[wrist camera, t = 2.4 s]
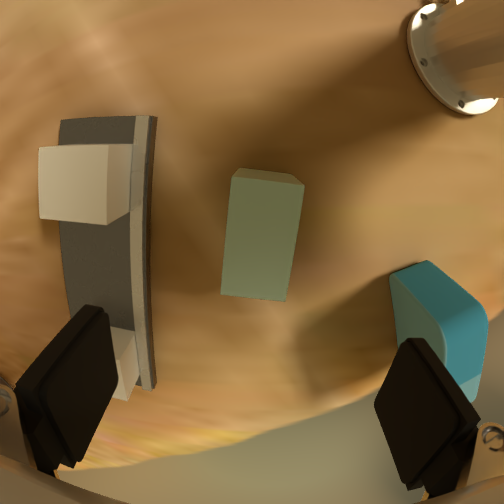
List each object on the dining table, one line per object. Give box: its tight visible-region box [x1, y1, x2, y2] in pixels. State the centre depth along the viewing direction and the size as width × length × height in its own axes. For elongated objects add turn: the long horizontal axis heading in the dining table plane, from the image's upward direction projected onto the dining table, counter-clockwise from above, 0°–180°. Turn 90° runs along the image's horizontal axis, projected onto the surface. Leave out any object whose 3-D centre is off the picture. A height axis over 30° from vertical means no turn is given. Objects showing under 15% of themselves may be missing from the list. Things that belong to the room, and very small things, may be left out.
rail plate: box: [59, 116, 157, 391], centre depth 28 cm, size 30×10×2 cm, turn 173°
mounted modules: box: [38, 144, 140, 401], centre depth 26 cm, size 25×7×5 cm, turn 173°
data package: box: [389, 260, 488, 403], centre depth 25 cm, size 12×4×12 cm, turn 20°
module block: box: [220, 168, 305, 302], centre depth 23 cm, size 8×4×8 cm, turn 173°
